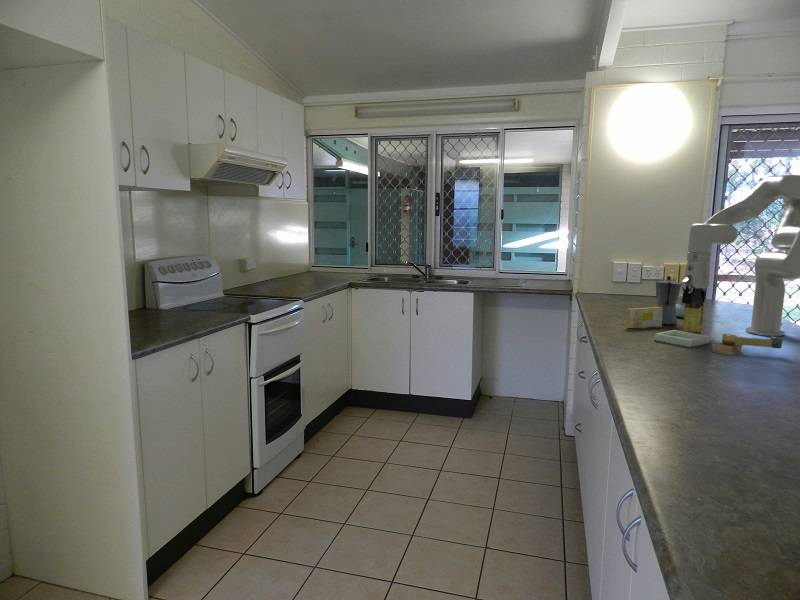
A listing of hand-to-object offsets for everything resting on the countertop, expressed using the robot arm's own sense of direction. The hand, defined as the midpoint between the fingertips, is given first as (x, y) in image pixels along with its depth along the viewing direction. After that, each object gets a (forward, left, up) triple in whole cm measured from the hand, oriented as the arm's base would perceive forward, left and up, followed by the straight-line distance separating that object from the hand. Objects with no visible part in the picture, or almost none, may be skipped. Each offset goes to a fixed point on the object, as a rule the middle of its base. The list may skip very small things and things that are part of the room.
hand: (693, 302), depth 203 cm
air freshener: (-38, -22, -13) cm, 45 cm away
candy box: (+1, -18, -13) cm, 22 cm away
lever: (+12, +26, -10) cm, 30 cm away
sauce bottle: (-1, 0, -13) cm, 13 cm away
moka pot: (-15, -18, -13) cm, 26 cm away
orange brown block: (+16, +20, -12) cm, 29 cm away
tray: (+14, +4, -12) cm, 19 cm away
